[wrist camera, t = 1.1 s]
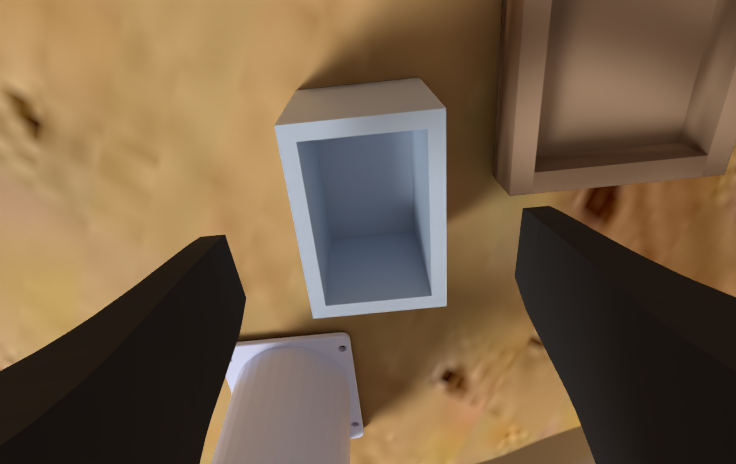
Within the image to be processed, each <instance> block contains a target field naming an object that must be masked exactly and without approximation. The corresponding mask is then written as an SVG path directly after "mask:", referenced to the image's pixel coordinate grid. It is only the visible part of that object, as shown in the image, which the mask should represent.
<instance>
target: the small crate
mask: <svg viewBox="0 0 736 464" xmlns="http://www.w3.org/2000/svg"><path fill="white" fill-rule="evenodd" d="M274 127H275V132H276V137H277V141H278V146H279V151H280V156H281V161H282V166H283V171H284V176H285V181H286V186H287V191H288V196H289V201H290V206H291V211H292V216H293V221H294V226H295V231H296V236H297V241H298V246H299V251H300V256H301V261H302V266H303V271H304V276H305V281H306V286H307V291H308V295H309V300H310V305H311V310H312V315H313V319H317V318H327V317H338V316H348V315H359V314H369V313H380V312H391V311H401V310H412V309H422V308H433V307H443V306H447V227H446V107H445V106H444V105H443V104H442V103H441V102H440V101H439V99H438V98H437V97H436V96H435V95H434V94H433V92H432V91H431V90H430V89H429V88H428V87H427V86H426V84H425V83H424V82H423V81H422V80H421V79H420V78H410V79H400V80H391V81H381V82H371V83H362V84H352V85H342V86H333V87H323V88H313V89H304V90H296V91H295V93H294V94H293V96H292V98H291V99H290V101H289V103H288V104H287V106H286V107H285V109H284V111H283V112H282V114H281V116H280V117H279V119H278V120H277V122H276V124H275V125H274Z"/></svg>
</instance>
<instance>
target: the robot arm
mask: <svg viewBox="0 0 736 464" xmlns="http://www.w3.org/2000/svg"><path fill="white" fill-rule="evenodd" d="M515 278H516V281H517V284H518V287H519V290H520V294H521V297H522V299H523V302H524V305H525V308H526V311H527V313H528V315H529V317H530V319H531V321H532V323H533V325H534V327H535V329H536V331H537V333H538V335H539V337H540V339H541V341H542V343H543V345H544V347H545V349H546V351H547V353H548V355H549V357H550V359H551V361H552V363H553V365H554V367H555V369H556V371H557V373H558V375H559V377H560V379H561V381H562V383H563V385H564V387H565V389H566V391H567V393H568V395H569V397H570V399H571V401H572V404H573V406H574V408H575V410H576V413H577V415H578V418H579V421H580V423H581V426H582V428H583V431H584V434H585V436H586V439H587V441H588V444H589V447H590V449H591V452H592V455H593V457H594V460H595V463H596V464H736V297H733V296H731V295H728V294H726V293H723V292H721V291H719V290H716V289H714V288H711V287H709V286H706V285H704V284H701V283H699V282H697V281H694V280H692V279H690V278H687V277H685V276H683V275H681V274H678V273H676V272H674V271H672V270H670V269H668V268H666V267H664V266H662V265H660V264H658V263H655V262H653V261H651V260H649V259H647V258H645V257H643V256H641V255H639V254H637V253H635V252H634V251H632V250H630V249H628V248H626V247H624V246H622V245H620V244H618V243H617V242H615V241H613V240H611V239H609V238H607V237H606V236H604V235H602V234H600V233H599V232H597V231H595V230H593V229H591V228H590V227H588V226H586V225H584V224H583V223H581V222H579V221H577V220H575V219H574V218H572V217H570V216H568V215H566V214H564V213H563V212H561V211H559V210H557V209H555V208H552V207H550V206H543V207H532V208H523V212H522V220H521V228H520V237H519V245H518V254H517V262H516V271H515ZM245 302H246V296H245V293H244V290H243V287H242V284H241V281H240V278H239V275H238V272H237V269H236V266H235V263H234V260H233V257H232V254H231V251H230V248H229V245H228V242H227V239H226V236H225V235H216V236H205V237H200V238H198V239H197V240H195V241H193V242H192V243H190V244H189V245H188V246H186V247H185V248H184V249H182V250H181V251H180V252H178V253H177V254H176V255H174V256H173V257H172V258H171V259H169V260H168V261H167V262H165V263H164V264H163V265H162V266H160V267H159V268H158V269H156V270H155V271H154V272H152V273H151V274H150V275H149V276H147V277H146V278H145V279H143V280H142V281H141V282H140V283H138V284H137V285H136V286H134V287H133V288H132V289H130V290H129V291H127V292H126V293H125V294H123V295H122V296H120V297H119V298H118V299H116V300H115V301H113V302H112V303H111V304H109V305H108V306H106V307H105V308H104V309H102V310H101V311H99V312H98V313H97V314H95V315H94V316H92V317H91V318H89V319H88V320H86V321H85V322H83V323H82V324H80V325H79V326H77V327H76V328H74V329H73V330H71V331H70V332H68V333H66V334H65V335H63V336H61V337H60V338H58V339H56V340H55V341H53V342H51V343H50V344H48V345H47V346H45V347H43V348H42V349H40V350H38V351H36V352H35V353H33V354H31V355H29V356H28V357H26V358H24V359H22V360H20V361H18V362H16V363H15V364H13V365H11V366H9V367H7V368H5V369H3V370H2V371H0V464H200V459H201V455H202V451H203V446H204V442H205V438H206V434H207V431H208V427H209V424H210V420H211V417H212V414H213V411H214V408H215V405H216V402H217V399H218V397H219V394H220V391H221V388H222V385H223V382H224V379H225V376H226V379H227V382H228V384H229V387H230V390H231V393H232V396H231V399H230V402H229V406H228V409H227V412H226V416H225V419H224V422H223V425H222V429H221V432H220V435H219V439H218V442H217V445H216V448H215V452H214V455H213V458H212V462H211V464H350V439H352V438H359V437H361V436H363V434H364V428H363V421H362V415H361V408H360V401H359V395H358V388H357V382H356V375H355V368H354V362H353V355H352V349H351V342H350V337H349V335H348V334H347V333H344V332H338V333H328V334H317V335H307V336H296V337H285V338H275V339H264V340H254V341H243V342H237V340H238V337H239V334H240V329H241V324H242V319H243V314H244V308H245ZM340 346H346V347H340Z"/></svg>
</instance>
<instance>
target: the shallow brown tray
mask: <svg viewBox="0 0 736 464" xmlns="http://www.w3.org/2000/svg"><path fill="white" fill-rule="evenodd" d="M735 142H736V0H503V1H502V19H501V38H500V57H499V75H498V94H497V113H496V131H495V150H494V169H493V176H494V177H495V179H496V180H497V181H498V182H499V183H500V185H501V186H502V187H503V188H504V190H505V191H506V192H507V193H508V195H509V196H515V195H525V194H535V193H545V192H555V191H565V190H575V189H586V188H596V187H606V186H616V185H626V184H636V183H646V182H657V181H667V180H677V179H687V178H697V177H707V176H717V175H725V172H726V169H727V166H728V163H729V160H730V157H731V154H732V151H733V148H734V145H735Z"/></svg>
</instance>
